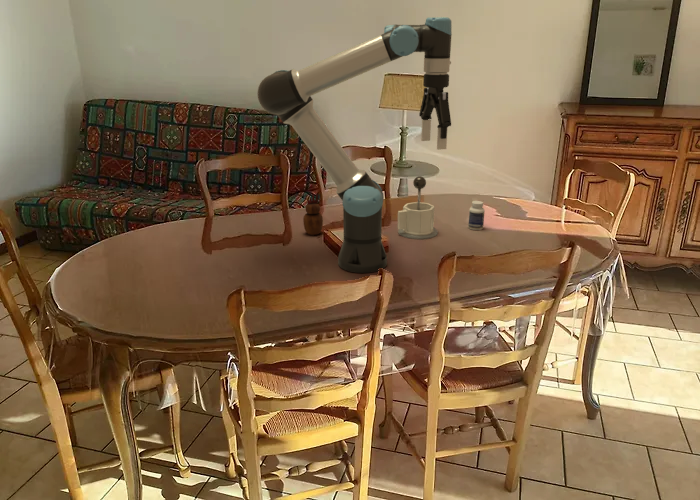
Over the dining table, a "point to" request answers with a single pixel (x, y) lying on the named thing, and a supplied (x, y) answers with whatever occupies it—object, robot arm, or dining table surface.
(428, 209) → the white faceted cup
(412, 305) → the dining table surface
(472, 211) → the pill bottle
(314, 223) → the wooden figurine
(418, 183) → the plunger
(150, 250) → the dining table surface
